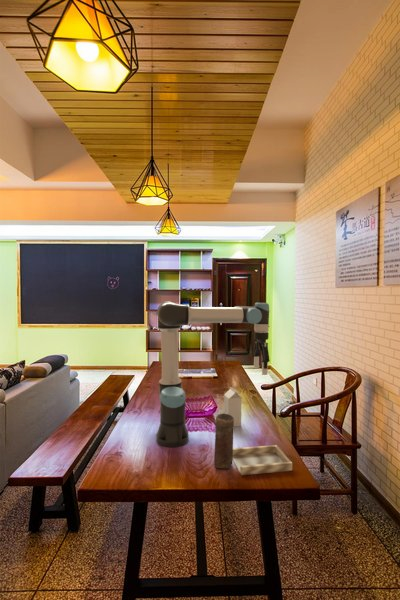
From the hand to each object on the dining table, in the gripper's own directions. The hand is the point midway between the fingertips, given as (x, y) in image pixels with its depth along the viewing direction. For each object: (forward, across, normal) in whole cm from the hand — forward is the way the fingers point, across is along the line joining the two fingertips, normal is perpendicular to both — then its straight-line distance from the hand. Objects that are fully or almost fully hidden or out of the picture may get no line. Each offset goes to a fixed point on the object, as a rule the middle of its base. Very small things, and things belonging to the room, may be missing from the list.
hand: (260, 371), depth 173 cm
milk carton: (+28, 0, +15) cm, 32 cm away
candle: (+28, -40, +28) cm, 56 cm away
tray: (+28, -39, +12) cm, 50 cm away
